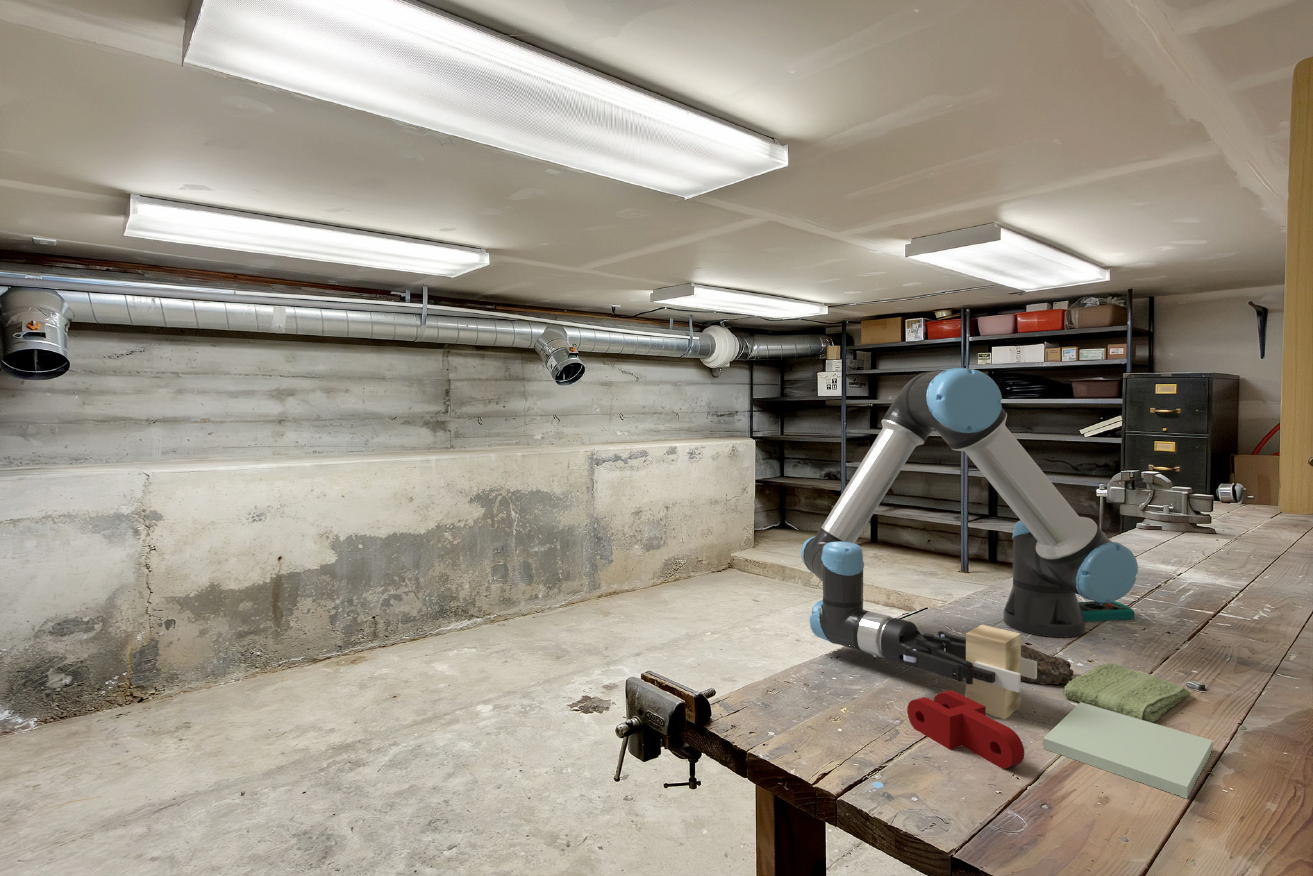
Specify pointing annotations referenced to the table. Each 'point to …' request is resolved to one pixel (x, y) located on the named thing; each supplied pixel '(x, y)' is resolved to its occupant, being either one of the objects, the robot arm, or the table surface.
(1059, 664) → the brown rock
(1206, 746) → the sage board
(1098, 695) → the washcloth
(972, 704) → the mechanical linkage
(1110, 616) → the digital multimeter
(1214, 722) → the table surface
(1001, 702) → the beech block
